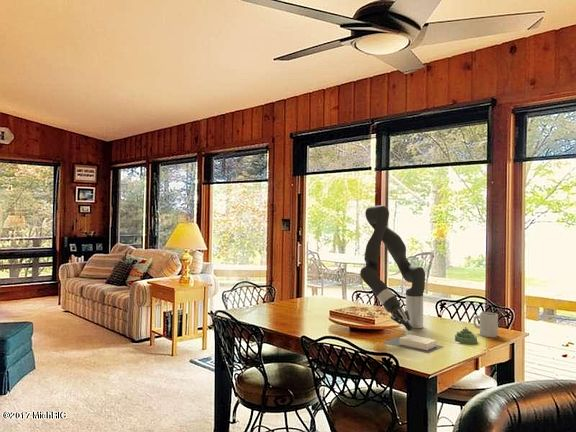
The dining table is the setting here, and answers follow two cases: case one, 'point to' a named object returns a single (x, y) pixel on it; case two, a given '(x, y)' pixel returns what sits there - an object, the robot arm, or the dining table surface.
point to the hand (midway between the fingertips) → (411, 329)
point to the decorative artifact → (466, 337)
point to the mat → (396, 343)
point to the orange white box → (418, 342)
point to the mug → (487, 324)
